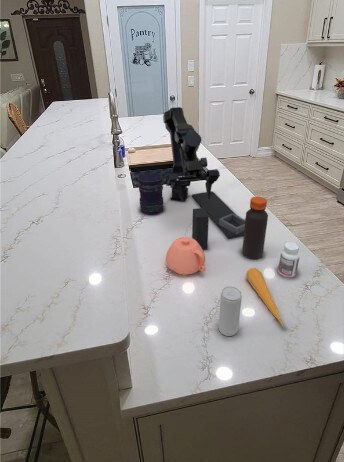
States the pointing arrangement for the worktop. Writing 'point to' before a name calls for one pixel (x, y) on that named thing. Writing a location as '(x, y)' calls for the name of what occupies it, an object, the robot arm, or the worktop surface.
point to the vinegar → (255, 228)
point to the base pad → (221, 214)
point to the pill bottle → (289, 260)
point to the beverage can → (229, 310)
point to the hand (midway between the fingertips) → (196, 200)
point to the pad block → (200, 227)
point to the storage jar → (151, 193)
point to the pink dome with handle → (185, 256)
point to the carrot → (262, 290)
